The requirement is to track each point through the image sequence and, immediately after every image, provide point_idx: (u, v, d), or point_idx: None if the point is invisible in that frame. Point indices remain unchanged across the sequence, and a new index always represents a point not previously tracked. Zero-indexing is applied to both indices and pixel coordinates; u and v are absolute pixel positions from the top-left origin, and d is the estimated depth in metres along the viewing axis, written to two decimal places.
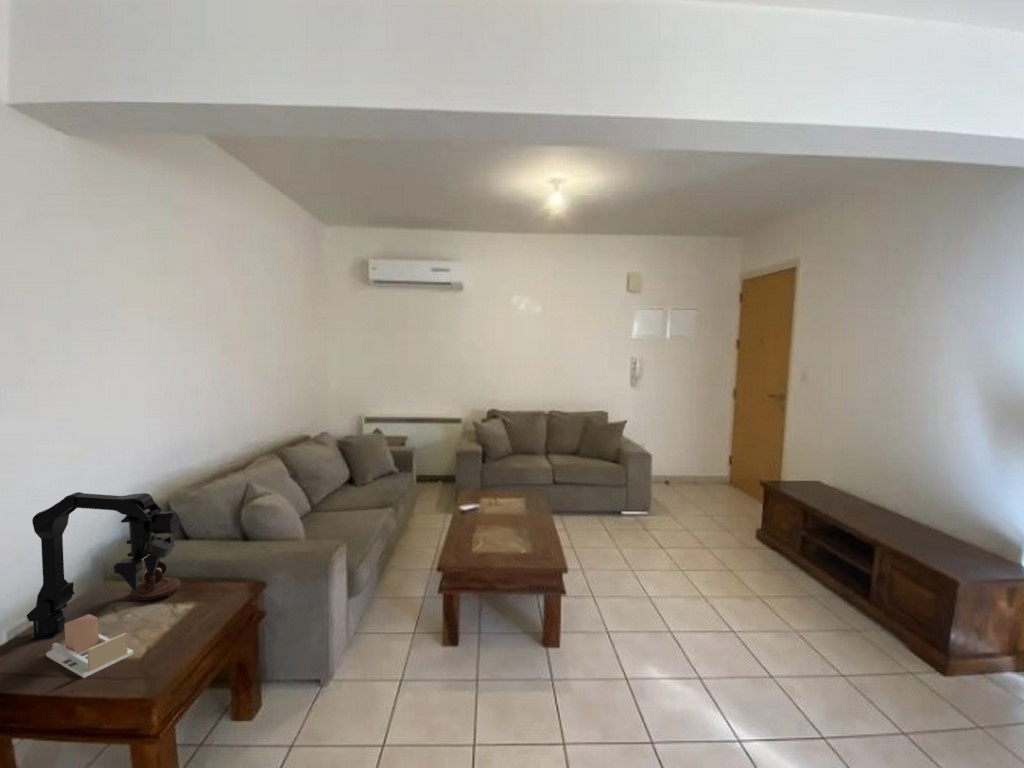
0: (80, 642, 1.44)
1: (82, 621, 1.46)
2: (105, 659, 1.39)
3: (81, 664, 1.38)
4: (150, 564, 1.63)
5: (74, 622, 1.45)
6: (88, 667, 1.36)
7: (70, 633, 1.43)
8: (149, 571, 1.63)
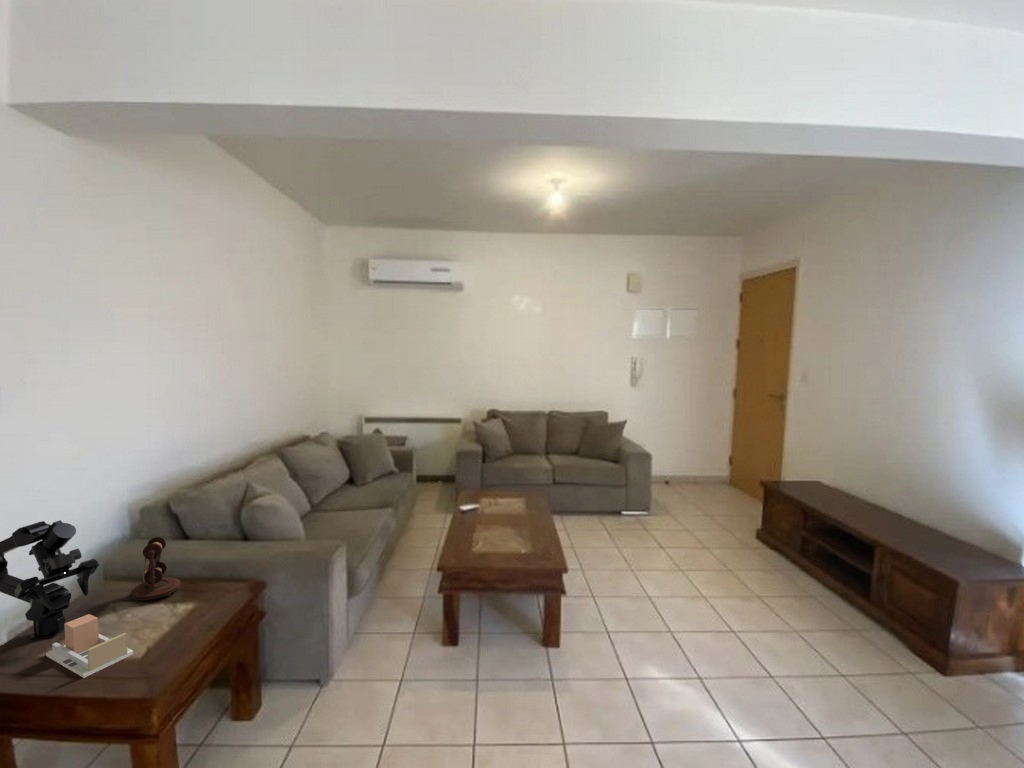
0: (80, 642, 1.44)
1: (82, 621, 1.46)
2: (105, 659, 1.39)
3: (81, 664, 1.38)
4: (81, 585, 1.54)
5: (74, 622, 1.45)
6: (88, 667, 1.36)
7: (70, 633, 1.43)
8: (83, 592, 1.53)
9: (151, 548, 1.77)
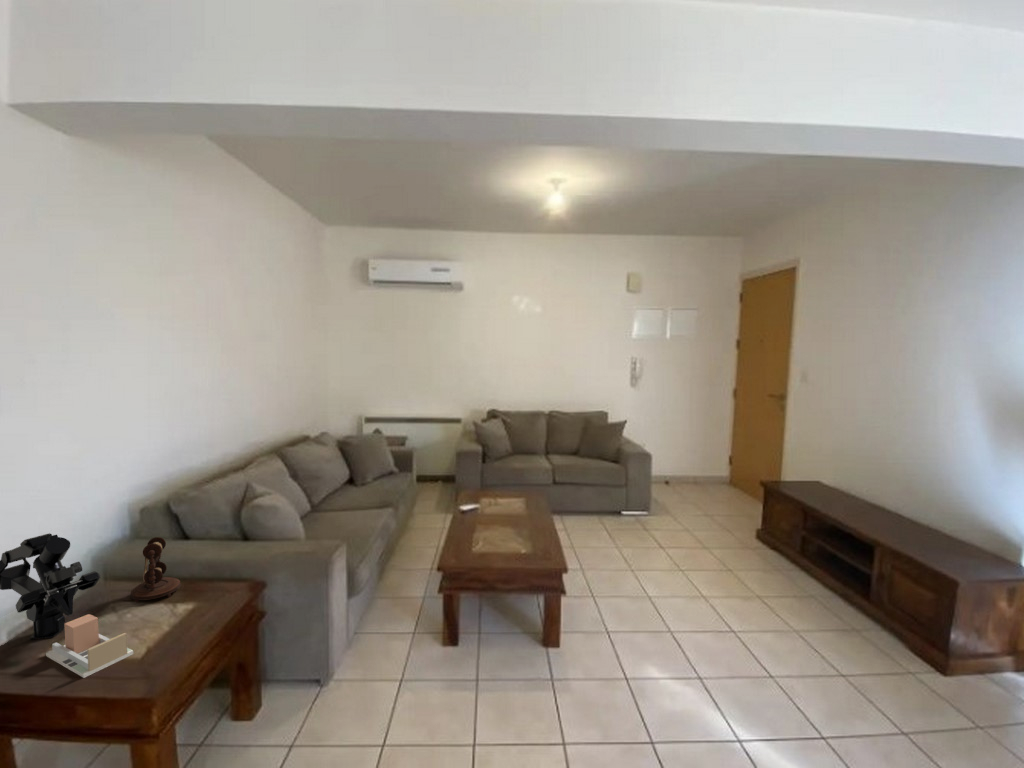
0: (80, 642, 1.44)
1: (82, 621, 1.46)
2: (105, 659, 1.39)
3: (81, 664, 1.38)
4: (66, 604, 1.50)
5: (74, 622, 1.45)
6: (88, 667, 1.36)
7: (70, 633, 1.43)
8: None
9: (151, 548, 1.77)
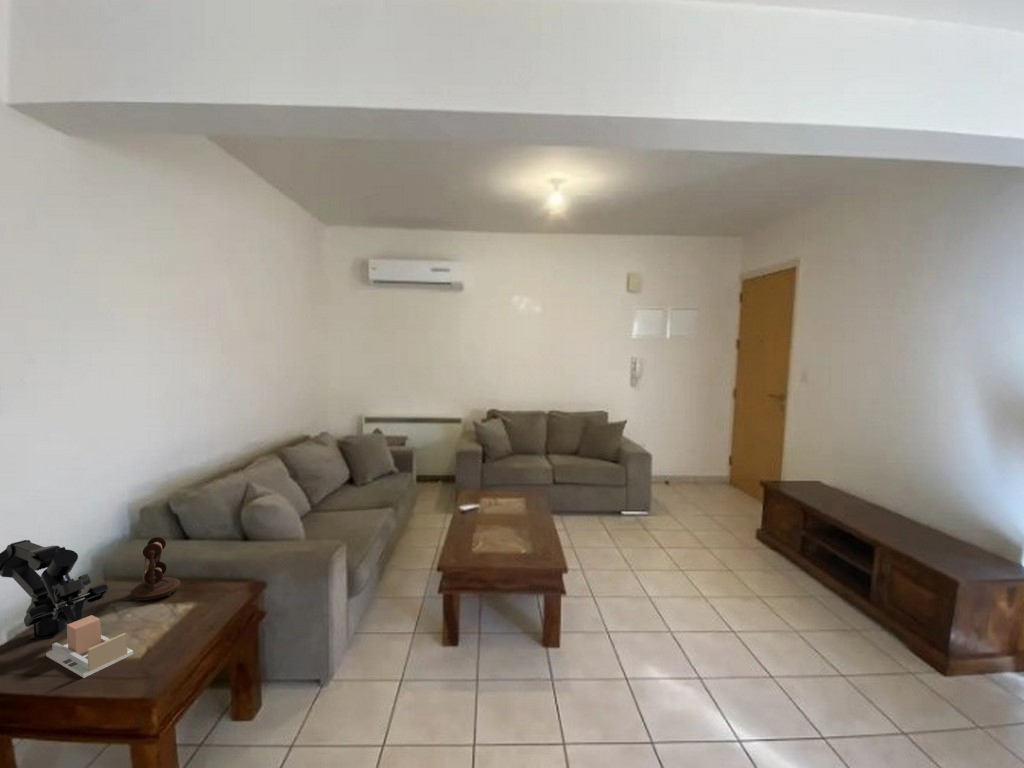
0: (83, 643, 1.43)
1: (85, 622, 1.45)
2: (105, 659, 1.39)
3: (81, 664, 1.38)
4: (75, 617, 1.48)
5: (76, 623, 1.44)
6: (88, 667, 1.36)
7: (73, 634, 1.42)
8: None
9: (151, 548, 1.77)
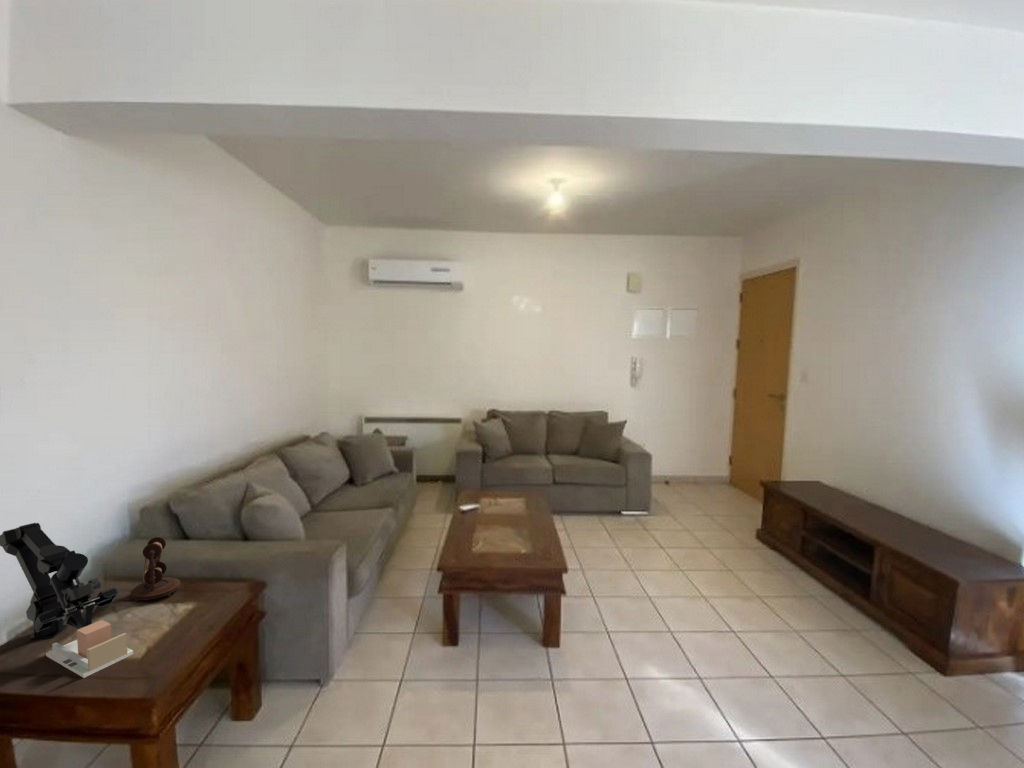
0: None
1: (95, 627, 1.43)
2: (105, 659, 1.39)
3: (81, 664, 1.38)
4: (85, 622, 1.46)
5: (87, 628, 1.42)
6: (88, 667, 1.36)
7: (83, 639, 1.40)
8: None
9: (151, 548, 1.77)
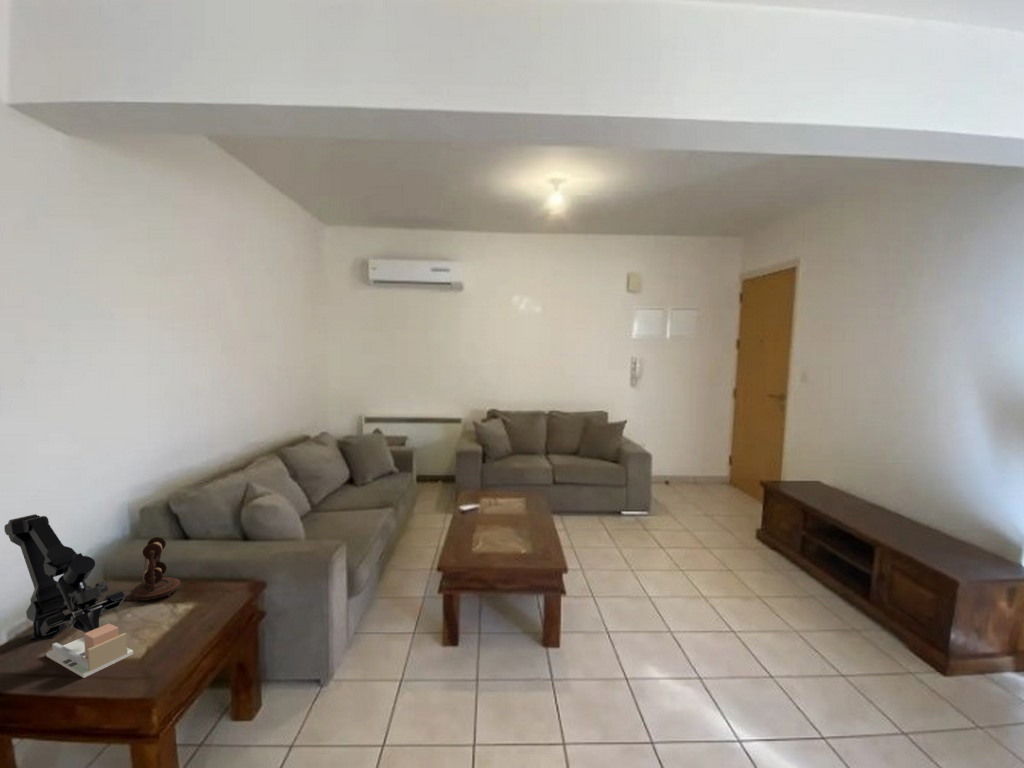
0: None
1: (103, 630, 1.41)
2: (105, 659, 1.39)
3: (81, 664, 1.38)
4: (92, 625, 1.44)
5: (94, 632, 1.40)
6: (88, 667, 1.36)
7: (90, 643, 1.38)
8: None
9: (151, 548, 1.77)
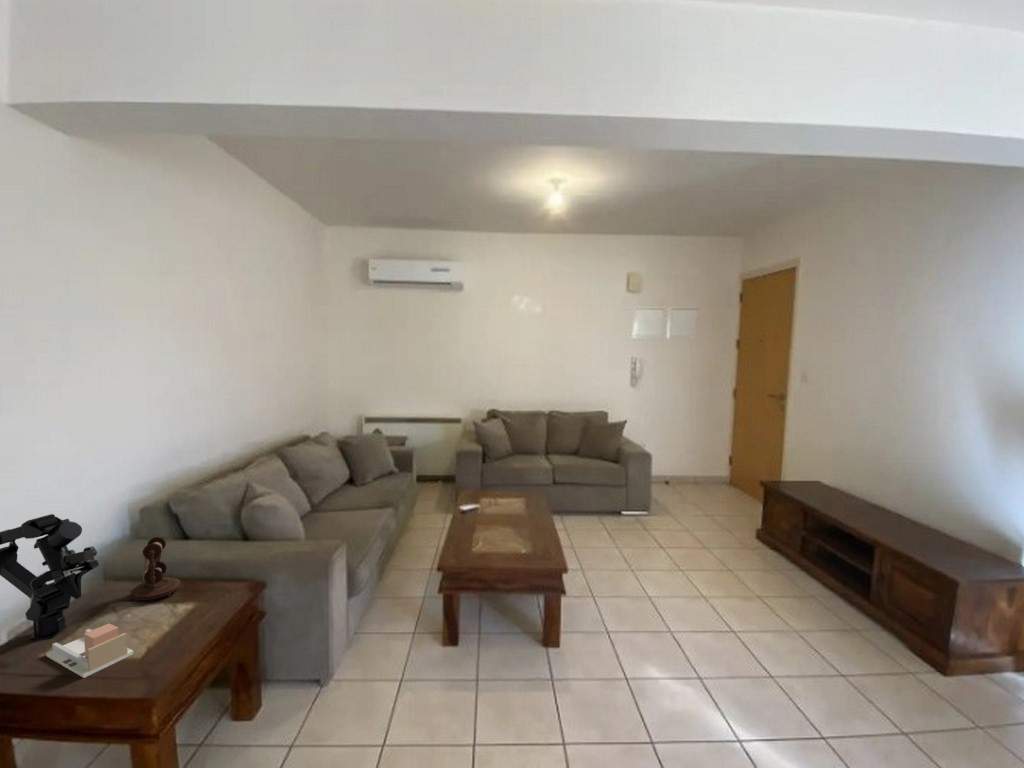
0: None
1: (103, 630, 1.41)
2: (105, 659, 1.39)
3: (81, 664, 1.38)
4: None
5: (94, 632, 1.40)
6: (88, 667, 1.36)
7: (90, 643, 1.38)
8: None
9: (151, 548, 1.77)
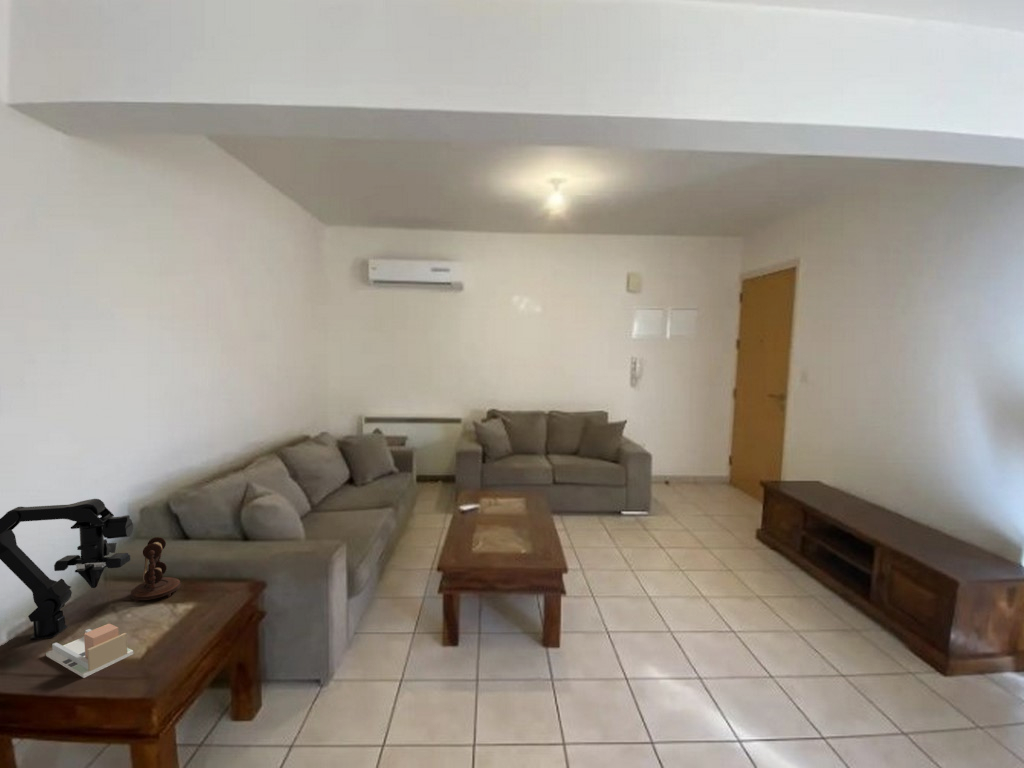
0: None
1: (103, 630, 1.41)
2: (105, 659, 1.39)
3: (81, 664, 1.38)
4: None
5: (94, 632, 1.40)
6: (88, 667, 1.36)
7: (90, 643, 1.38)
8: None
9: (151, 548, 1.77)
